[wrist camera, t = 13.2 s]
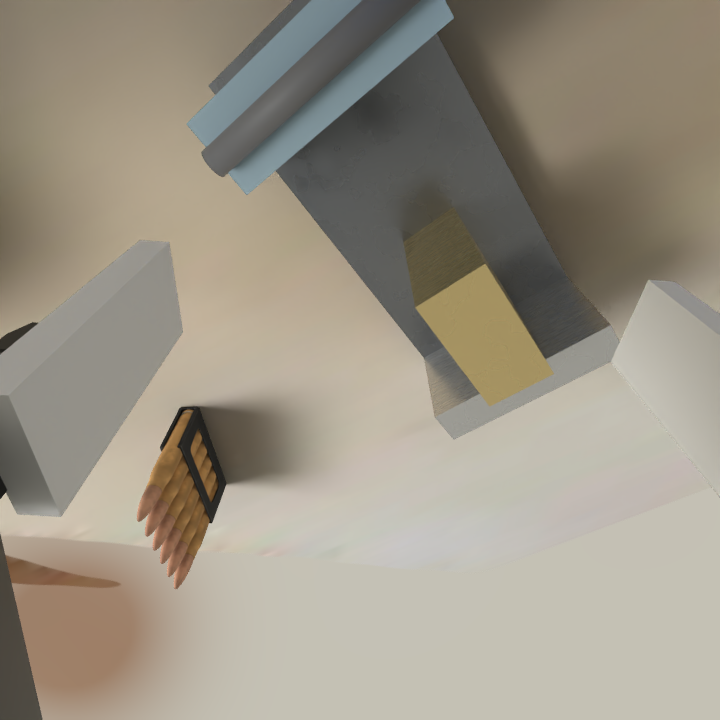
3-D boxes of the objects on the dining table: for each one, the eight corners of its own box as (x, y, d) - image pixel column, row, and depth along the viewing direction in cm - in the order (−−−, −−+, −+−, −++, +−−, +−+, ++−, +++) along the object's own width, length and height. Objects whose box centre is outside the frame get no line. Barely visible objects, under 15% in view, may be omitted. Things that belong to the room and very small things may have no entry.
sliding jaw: (225, 109, 27) (175, 127, 20) (392, -52, 23) (402, -99, 16) (271, 167, 29) (240, 202, 22) (434, 27, 25) (459, 15, 18)
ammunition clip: (179, 407, 43) (121, 513, 33) (198, 405, 43) (146, 512, 33) (209, 485, 49) (168, 595, 39) (226, 484, 49) (189, 594, 39)
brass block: (403, 241, 32) (415, 307, 23) (453, 207, 30) (485, 263, 22) (461, 324, 35) (489, 406, 27) (508, 295, 34) (554, 373, 26)
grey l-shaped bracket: (217, 84, 29) (160, 94, 21) (374, -73, 24) (377, -133, 17) (437, 364, 40) (453, 439, 32) (570, 289, 36) (625, 354, 28)
